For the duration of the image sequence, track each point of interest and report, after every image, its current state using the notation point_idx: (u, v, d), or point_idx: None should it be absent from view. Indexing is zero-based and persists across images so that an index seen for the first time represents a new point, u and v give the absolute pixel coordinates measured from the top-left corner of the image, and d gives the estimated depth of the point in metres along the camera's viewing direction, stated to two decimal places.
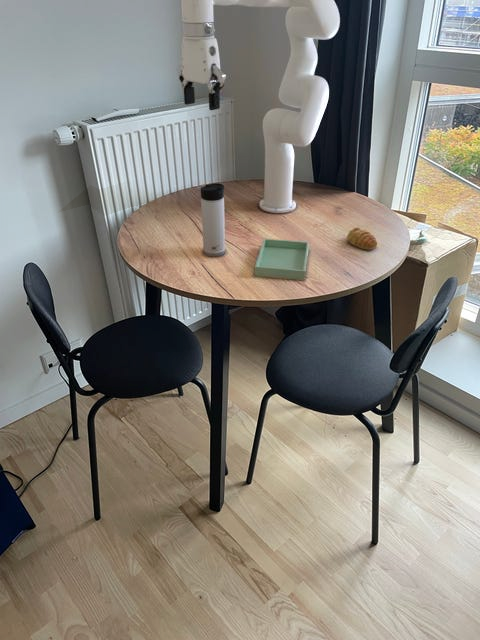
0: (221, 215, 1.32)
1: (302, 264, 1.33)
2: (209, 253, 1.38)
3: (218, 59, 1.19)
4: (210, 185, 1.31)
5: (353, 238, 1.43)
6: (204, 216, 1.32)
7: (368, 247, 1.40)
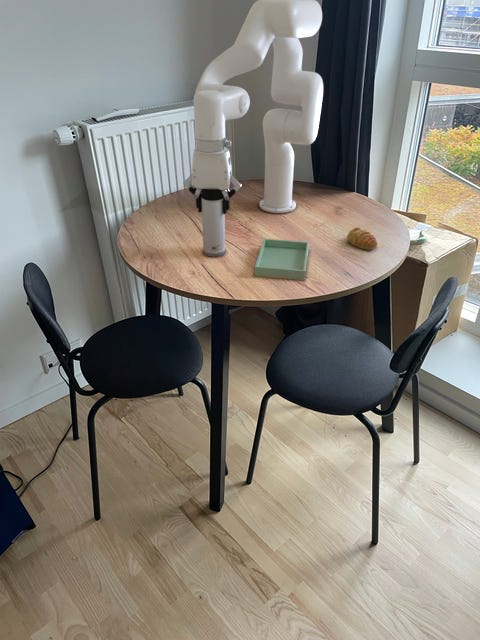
0: (221, 215, 1.32)
1: (302, 264, 1.33)
2: (209, 253, 1.38)
3: None
4: None
5: (353, 238, 1.43)
6: (204, 216, 1.32)
7: (368, 247, 1.40)
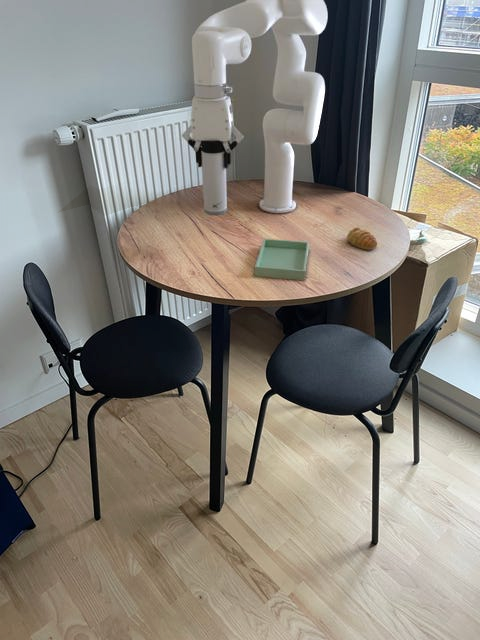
0: (222, 170, 1.25)
1: (302, 264, 1.33)
2: (210, 212, 1.31)
3: (232, 116, 1.20)
4: None
5: (353, 238, 1.43)
6: (205, 171, 1.25)
7: (368, 247, 1.40)
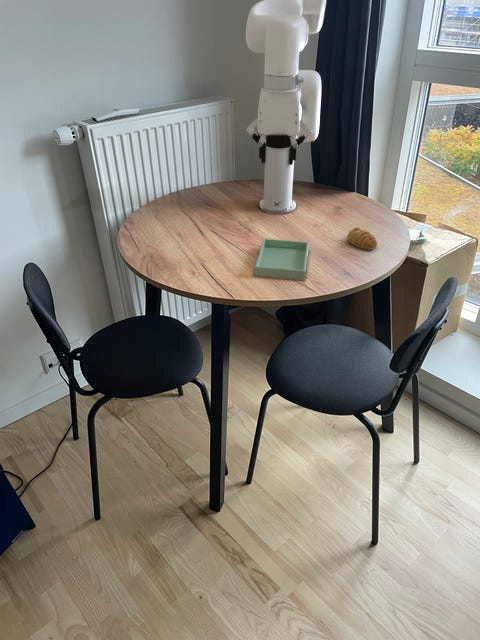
0: (287, 166, 1.19)
1: (302, 264, 1.33)
2: (271, 210, 1.24)
3: (301, 109, 1.14)
4: None
5: (353, 238, 1.43)
6: (268, 167, 1.19)
7: (368, 247, 1.40)
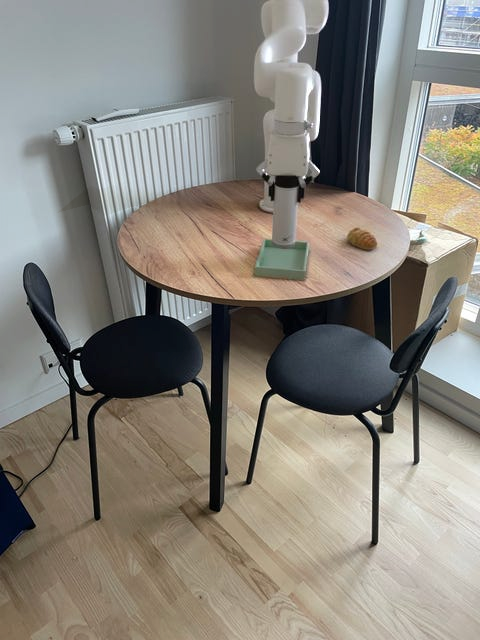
0: (296, 204, 1.23)
1: (302, 264, 1.33)
2: (279, 245, 1.29)
3: (309, 151, 1.18)
4: None
5: (353, 238, 1.43)
6: (277, 205, 1.23)
7: (368, 247, 1.40)
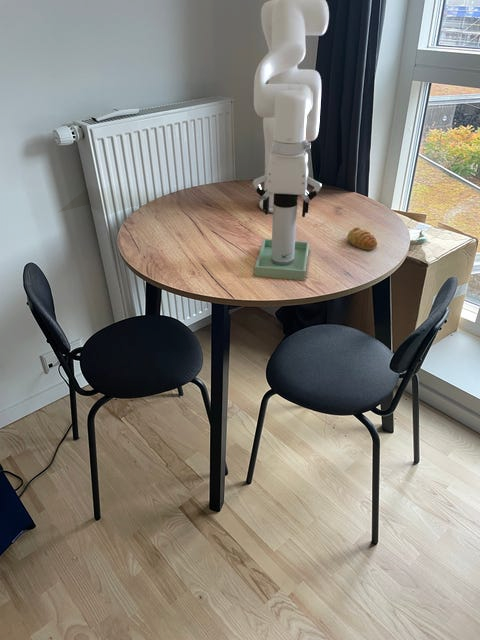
0: (294, 222, 1.26)
1: (302, 264, 1.33)
2: (278, 262, 1.32)
3: None
4: None
5: (353, 238, 1.43)
6: (276, 223, 1.26)
7: (368, 247, 1.40)
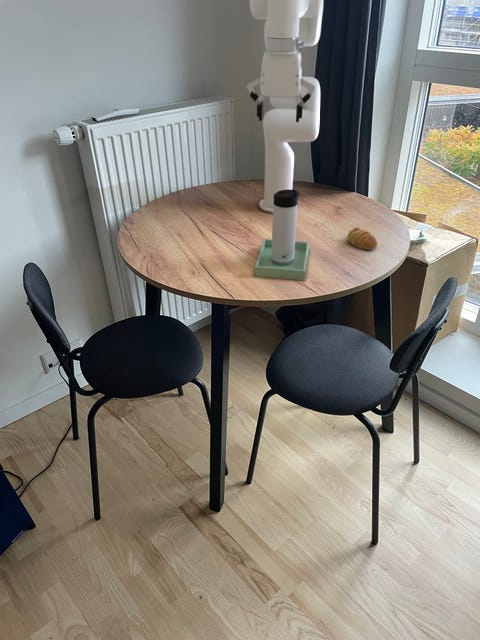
0: (294, 222, 1.26)
1: (302, 264, 1.33)
2: (278, 262, 1.32)
3: (301, 72, 1.21)
4: (283, 191, 1.26)
5: (353, 238, 1.43)
6: (276, 223, 1.26)
7: (368, 247, 1.40)
